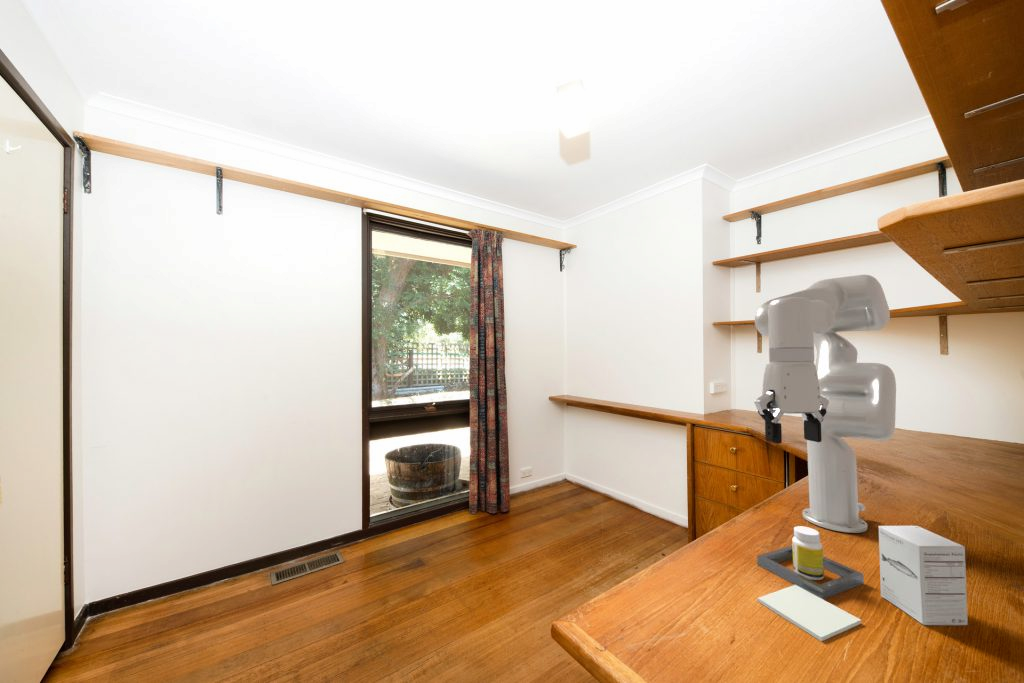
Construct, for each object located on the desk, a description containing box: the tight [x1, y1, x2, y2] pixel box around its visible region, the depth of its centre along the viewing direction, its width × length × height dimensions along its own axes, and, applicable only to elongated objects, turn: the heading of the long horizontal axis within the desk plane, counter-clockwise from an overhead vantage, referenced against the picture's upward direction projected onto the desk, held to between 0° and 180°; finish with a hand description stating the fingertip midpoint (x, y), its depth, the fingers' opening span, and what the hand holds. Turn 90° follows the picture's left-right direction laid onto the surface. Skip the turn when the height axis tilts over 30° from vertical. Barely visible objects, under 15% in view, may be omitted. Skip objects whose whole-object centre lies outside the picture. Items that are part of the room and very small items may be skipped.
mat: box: [757, 584, 862, 642], centre depth 64 cm, size 10×10×1 cm
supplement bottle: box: [791, 525, 825, 581], centre depth 75 cm, size 5×5×8 cm
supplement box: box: [878, 525, 969, 626], centre depth 64 cm, size 7×7×13 cm
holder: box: [756, 545, 865, 600], centre depth 75 cm, size 12×12×2 cm
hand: (793, 441), depth 77 cm, fingers open, 9 cm apart
